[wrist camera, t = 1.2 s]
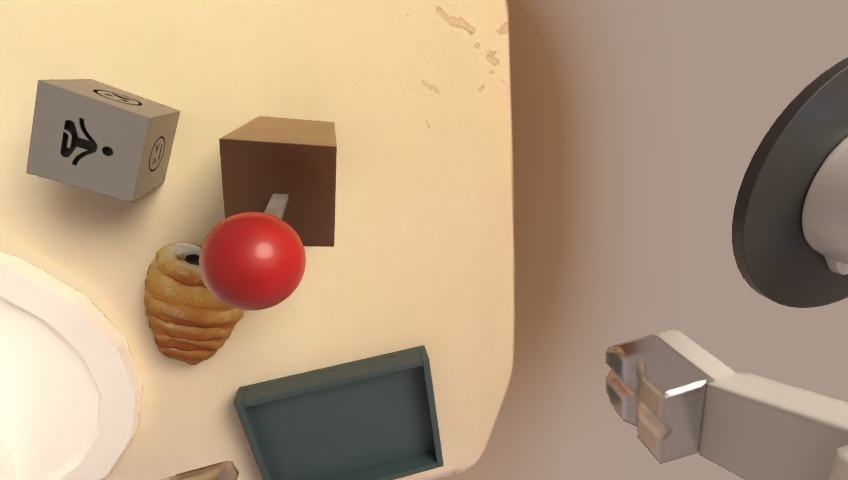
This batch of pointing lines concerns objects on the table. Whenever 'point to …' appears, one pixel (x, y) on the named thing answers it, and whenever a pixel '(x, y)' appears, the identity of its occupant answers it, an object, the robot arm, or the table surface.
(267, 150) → the red ball lever
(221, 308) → the pastry
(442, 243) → the table surface
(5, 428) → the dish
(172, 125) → the dice cube
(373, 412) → the teal serving tray
